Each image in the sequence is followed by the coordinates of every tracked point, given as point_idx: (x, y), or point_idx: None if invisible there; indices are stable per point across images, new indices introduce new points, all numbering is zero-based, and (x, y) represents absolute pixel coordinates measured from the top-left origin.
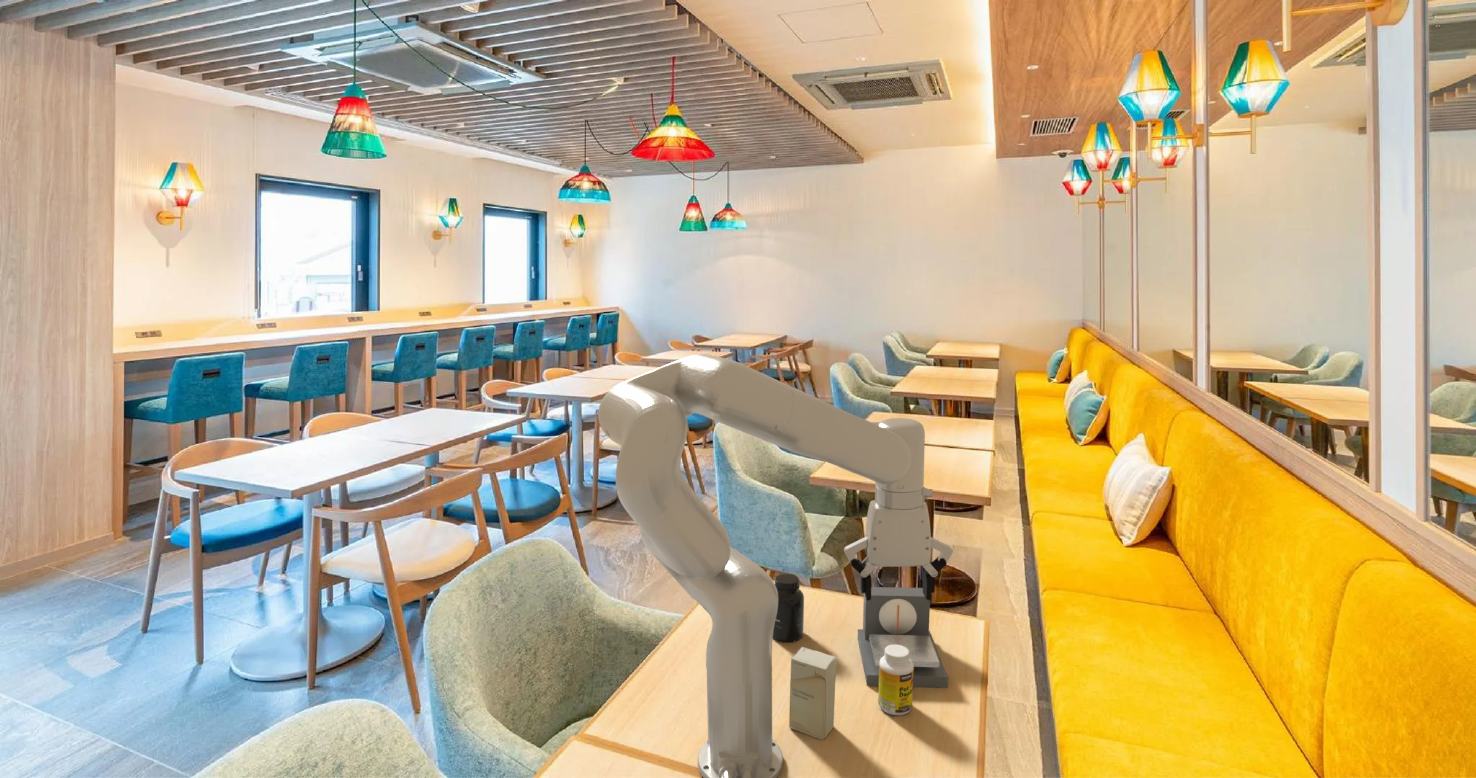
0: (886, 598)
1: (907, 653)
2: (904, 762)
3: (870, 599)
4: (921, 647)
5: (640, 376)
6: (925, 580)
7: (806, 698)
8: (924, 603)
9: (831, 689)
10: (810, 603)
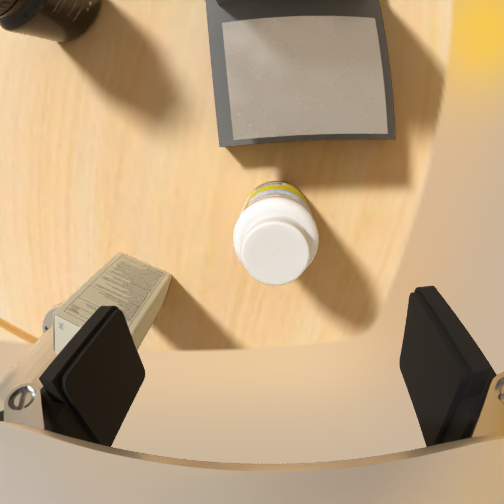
0: None
1: (303, 268)
2: (278, 340)
3: (143, 373)
4: (353, 69)
5: None
6: (430, 401)
7: None
8: None
9: (143, 329)
10: None
